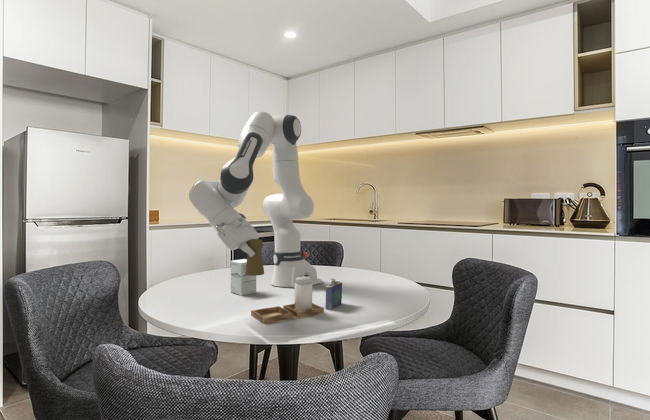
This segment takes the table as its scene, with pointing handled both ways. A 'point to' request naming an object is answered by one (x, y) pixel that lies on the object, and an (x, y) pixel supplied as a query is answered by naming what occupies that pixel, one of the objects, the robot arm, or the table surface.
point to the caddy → (284, 313)
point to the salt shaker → (303, 293)
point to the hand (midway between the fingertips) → (256, 254)
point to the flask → (333, 294)
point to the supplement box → (241, 278)
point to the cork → (255, 258)
